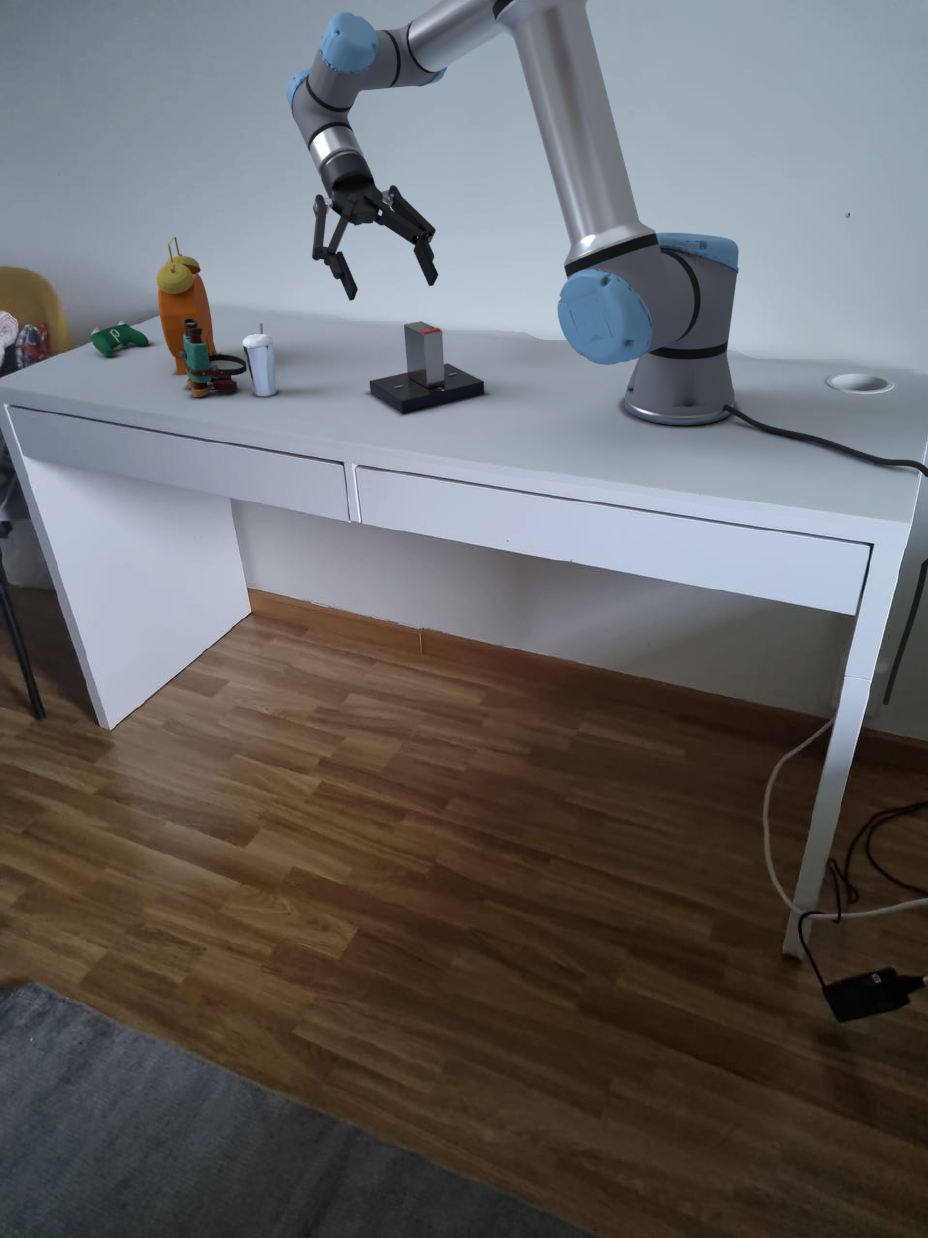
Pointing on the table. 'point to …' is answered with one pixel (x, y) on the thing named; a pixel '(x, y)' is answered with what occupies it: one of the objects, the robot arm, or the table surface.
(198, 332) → the binoculars
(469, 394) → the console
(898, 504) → the table surface
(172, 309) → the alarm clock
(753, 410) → the table surface
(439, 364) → the red-capped silver block
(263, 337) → the milkshake
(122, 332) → the gaming controller
